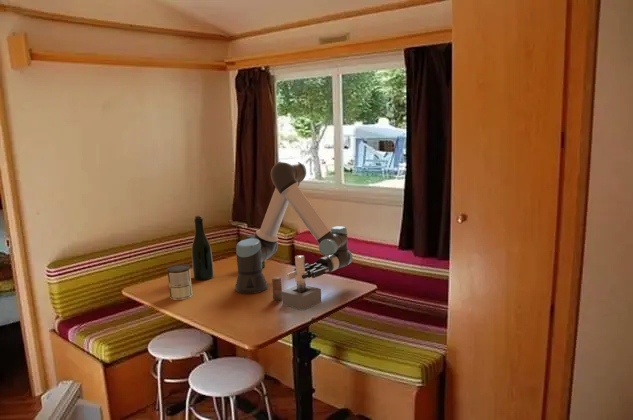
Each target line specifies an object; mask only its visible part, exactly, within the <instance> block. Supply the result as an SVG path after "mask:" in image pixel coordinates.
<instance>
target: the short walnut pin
mask: <svg viewBox="0 0 633 420" xmlns="http://www.w3.org/2000/svg"><path fill="white" fill-rule="evenodd" d="M271 282H272V283H271V284H272V298H273V299H272V300H273V302H275V301H276V302H277V303H278V302H281V301H282V291H283V290H282V277H278V276H276V277H272V278H271Z"/></svg>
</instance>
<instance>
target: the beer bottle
mask: <svg viewBox="0 0 633 420" xmlns="http://www.w3.org/2000/svg"><path fill="white" fill-rule="evenodd" d="M193 223H194V237H193V241H192V244H191V260H192V261H191V262H192V264H191V265H192V276H193V279H194V280H196V281H207V280H210V279H213V277H214V276H215V275H214V274H215V273H214V261H213V254H212V252H213V251H212V247H211V244H210V242H209V240H208V237H207V235H206V232H205V227H204V218H203V217H202V215H195V216H194V221H193Z"/></svg>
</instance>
